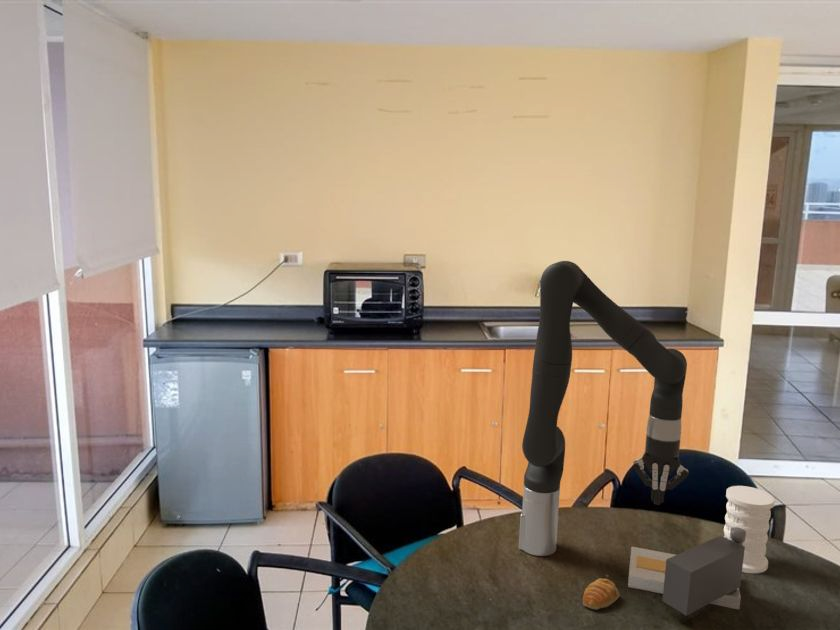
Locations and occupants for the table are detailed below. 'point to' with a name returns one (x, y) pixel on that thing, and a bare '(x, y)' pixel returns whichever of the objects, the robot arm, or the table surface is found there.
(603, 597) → the pastry
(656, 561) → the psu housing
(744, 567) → the decorative container
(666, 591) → the grey block with knob
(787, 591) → the table surface
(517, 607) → the table surface
